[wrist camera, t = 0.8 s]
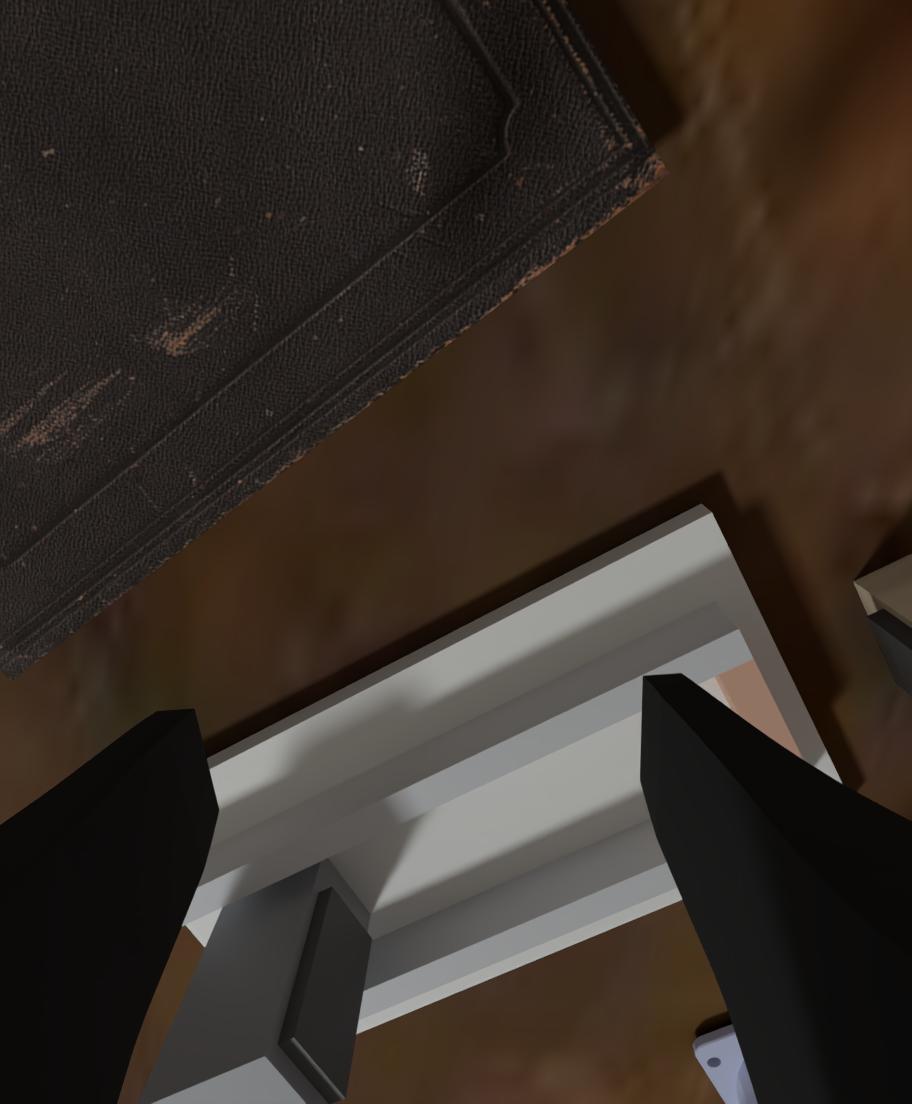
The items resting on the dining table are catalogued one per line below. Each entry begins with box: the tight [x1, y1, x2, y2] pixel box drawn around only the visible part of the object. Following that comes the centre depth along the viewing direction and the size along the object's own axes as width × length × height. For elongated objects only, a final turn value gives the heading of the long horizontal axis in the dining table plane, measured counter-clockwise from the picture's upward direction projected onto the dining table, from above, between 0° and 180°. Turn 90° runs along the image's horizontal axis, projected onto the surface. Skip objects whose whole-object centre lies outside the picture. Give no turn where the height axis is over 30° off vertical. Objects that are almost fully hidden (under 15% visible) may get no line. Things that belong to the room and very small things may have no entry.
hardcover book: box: [0, 0, 669, 681], centre depth 18 cm, size 16×23×2 cm
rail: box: [138, 504, 842, 1104], centre depth 21 cm, size 12×22×8 cm, turn 120°
